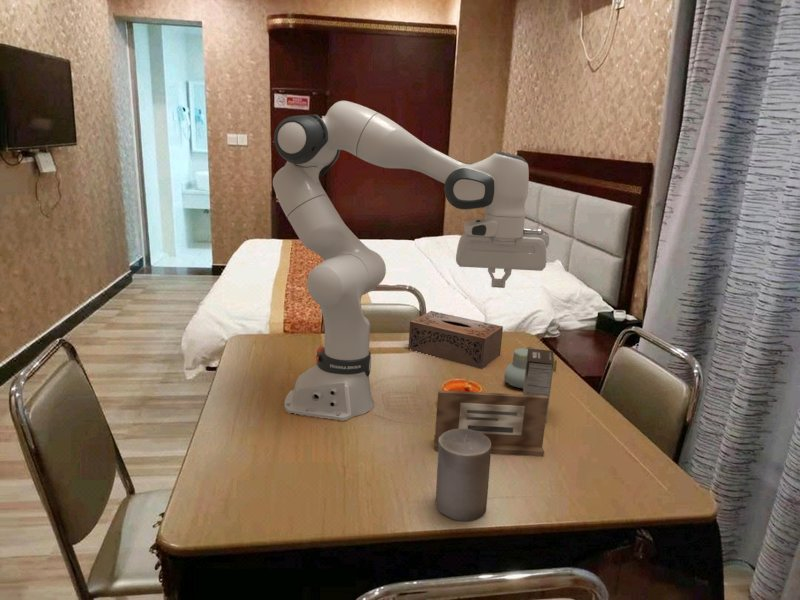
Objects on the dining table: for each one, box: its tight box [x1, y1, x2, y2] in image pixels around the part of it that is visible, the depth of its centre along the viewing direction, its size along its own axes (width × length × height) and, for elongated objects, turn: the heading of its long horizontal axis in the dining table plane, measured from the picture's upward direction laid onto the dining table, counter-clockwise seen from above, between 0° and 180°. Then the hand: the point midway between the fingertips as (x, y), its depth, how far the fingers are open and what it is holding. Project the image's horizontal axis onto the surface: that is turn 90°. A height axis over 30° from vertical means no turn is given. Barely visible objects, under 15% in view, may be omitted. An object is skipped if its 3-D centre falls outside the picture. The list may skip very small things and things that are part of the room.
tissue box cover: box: [408, 310, 504, 370], centre depth 186 cm, size 26×14×10 cm, turn 59°
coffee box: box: [522, 348, 555, 424], centre depth 146 cm, size 9×6×16 cm
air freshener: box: [503, 347, 528, 389], centre depth 164 cm, size 11×8×10 cm
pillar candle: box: [434, 429, 492, 522], centre depth 108 cm, size 10×10×15 cm
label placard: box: [433, 389, 549, 457], centre depth 129 cm, size 24×5×13 cm, turn 89°
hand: (497, 287), depth 134 cm, fingers closed
